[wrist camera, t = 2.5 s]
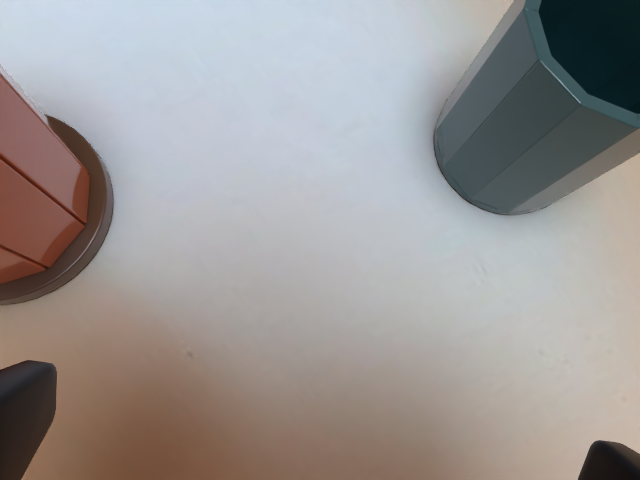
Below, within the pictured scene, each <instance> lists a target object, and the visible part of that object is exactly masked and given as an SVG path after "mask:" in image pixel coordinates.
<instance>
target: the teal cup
mask: <svg viewBox="0 0 640 480" xmlns="http://www.w3.org/2000/svg"><path fill="white" fill-rule="evenodd" d="M434 148H435V154H436V158H437V161H438V164H439V166H440V169H441V171H442V173H443V175H444V176H445V178H446V180H447V181H448V182H449V183H450V185H451V186H452V187H453V188H454V189H455V190H456V191H457V192H458V193H459V194H460V195H461V196H462V197H463V198H465V199H466V200H467V201H469V202H470V203H472V204H474V205H476V206H478V207H480V208H482V209H484V210H487V211H490V212H494V213H499V214H507V215H517V214H524V213H529V212H532V211H535V210H537V209H543V208H545V207H547V206H549V205H550V204H552V203H554V202H556V201H557V200H559V199H561V198H563V197H564V196H566V195H568V194H569V193H571V192H573V191H575V190H576V189H578V188H580V187H582V186H583V185H585V184H587V183H589V182H590V181H592V180H594V179H595V178H597V177H599V176H601V175H602V174H604V173H606V172H608V171H609V170H611V169H613V168H614V167H616V166H618V165H620V164H621V163H623V162H625V161H627V160H628V159H630V158H632V157H634V156H635V155H637V154H639V153H640V0H514V1H513V3H512V4H511V6H510V7H509V9H508V10H507V12H506V13H505V15H504V16H503V18H502V19H501V21H500V22H499V24H498V25H497V27H496V28H495V30H494V31H493V33H492V34H491V35H490V37H489V38H488V40H487V41H486V43H485V44H484V46H483V47H482V49H481V50H480V52H479V53H478V55H477V56H476V58H475V59H474V61H473V62H472V64H471V65H470V67H469V68H468V70H467V71H466V73H465V74H464V76H463V77H462V79H461V80H460V81H459V83H458V84H457V86H456V87H455V89H454V90H453V92H452V93H451V95H450V96H449V98H448V99H447V101H446V104H445V106H444V109H443V111H442V112H441V114H440V116H439V118H438V121H437V124H436V128H435V134H434Z"/></svg>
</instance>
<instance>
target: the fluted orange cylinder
mask: <svg viewBox="0 0 640 480" xmlns="http://www.w3.org/2000/svg"><path fill="white" fill-rule="evenodd" d="M88 173H89V171H88V169H87V168H86V167H85V165H84V164H83V163H82V161H81V160H80V159H79V157H78V156H77V155H76V153H75V152H74V151H73V149H72V148H71V147H70V145H69V144H68V142H67V141H66V140H65V138H64V137H63V136H62V135H61V133H60V132H59V131H58V130H57V129H56V128H55V127H54V125H53V124H52V123H51V122H50V121H49V120H48V119H47V117H46V116H45V115H44V114H43V113H42V112H41V111H40V109H39V108H38V107H37V106H36V105H35V104H34V103H33V101H32V100H31V99H30V98H29V97H28V96H27V94H26V93H25V92H24V91H23V90H22V89H21V88H20V86H19V85H18V84H17V83H16V82H15V81H14V80H13V78H12V77H11V76H10V75H9V74H8V73H7V72H6V70H5V69H4V68H3V67H2V66H1V65H0V285H1V284H4V283H7V282H10V281H13V280H16V279H20V278H23V277H26V276H29V275H32V274H35V273H39V272H42V271H45V270H46V266H47V267H51V266H52V265H53V263H54V262H55V261H56V260H57V259H58V258H59V256H60V255H61V254H62V253H63V252H64V251H65V249H66V248H67V247H68V246H69V245H70V244H71V242H72V241H73V240H74V239H75V238H76V237H77V235H78V234H79V233H80V232H81V231H82V230H83V229H84V227H85V226H84V225H83V224H82V223H87V213H88V199H89V186H90V175H89V174H88Z"/></svg>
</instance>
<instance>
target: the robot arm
mask: <svg viewBox="0 0 640 480" xmlns="http://www.w3.org/2000/svg"><path fill="white" fill-rule="evenodd" d="M56 386H57V371H56V367H55V366H54V365H53V364H52V363H46V362H39V361H32V360H27V361H24V362H21V363H18V364H15V365H12V366H10V367H7V368H4V369H1V370H0V480H21V478H22V477H23V475H24V473H25V471H26V469H27V468H28V466H29V464H30V462H31V460H32V458H33V457H34V455H35V453H36V451H37V449H38V447H39V446H40V444H41V442H42V440H43V438H44V437H45V435H46V433H47V431H48V429H49V427H50V426H51V423H52V421H53V418H54V415H55V410H56ZM578 480H640V454H639V453H637V452H635V451H633V450H632V449H630V448H628V447H627V446H625V445H623V444H620V443H617V442H609V441H602V440H598V441H595V442H594V443H593V444H592V445H591V447H590V449H589V451H588V454H587V457H586V459H585V462H584V464H583V467H582V470H581V472H580V475H579V478H578Z"/></svg>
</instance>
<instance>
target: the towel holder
mask: <svg viewBox="0 0 640 480" xmlns="http://www.w3.org/2000/svg"><path fill="white" fill-rule="evenodd" d="M44 115H45V114H44ZM45 116H46V117H47V119H48V120H49V121H50V122H51V123H52V124H53V125H54V127H55V128H56V129H57V130H58V131H59V132H60V133H61V135H62V136H63V137H64V138H65V140H66V141H67V142H68V144H69V145H70V147H71V148H72V149H73V151H74V152H75V153H76V155H77V156H78V157H79V159H80V160H81V161H82V163H83V164H84V165H85V167H86V168H87V169H88V171H89V173H88V174H89V175H90V186H89V199H88V213H87V223H82V224H83V225H84V226H85V227H84V229H83V230H82V231H81V232H80V233H79V234H78V235H77V237H76V238H75V239H74V240H73V241H72V242H71V244H70V245H69V246H68V247H67V248H66V249H65V251H64V252H63V253H62V254H61V255H60V256H59V258H58V259H57V260H56V261H55V262H54V263H53V265H52V266H51V267H47V266H46V270H45V271H42V272H39V273H35V274H32V275H29V276H26V277H23V278H20V279H16V280H13V281H10V282H7V283H4V284H1V285H0V305H3V304H14V303H19V302H24V301H28V300H31V299H34V298H37V297H40V296H43V295H45V294H47V293H49V292H52V291H54V290H55V289H57V288H59V287H60V286H62V285H64V284H65V283H67V282H68V281H69V280H71V279H72V278H73V277H75V276H76V275H77V274H78V273H79V272H80V271H81V270H82V269H83V268H84V267H85V266H86V265H87V264H88V263H89V262H90V260H91V259H92V258H93V257H94V256H95V254H96V252H97V251H98V249H99V248H100V246H101V244H102V243H103V240H104V238H105V236H106V234H107V231H108V228H109V225H110V222H111V217H112V210H113V192H112V185H111V181H110V178H109V174H108V172H107V170H106V168H105V165H104V163H103V162H102V160H101V159H100V157H99V156H98V154H97V153H96V151H95V150H94V149H93V148H92V146H91V145H90V144H89V143H88V142H87V141H86V139H85V138H84V137H83V136H82V135H80V134H79V133H78V132H77V131H76V130H75V129H73V128H72V127H70V126H69V125H67V124H66V123H64V122H62V121H60V120H58V119H56V118H54V117H51V116H48V115H45Z"/></svg>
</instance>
